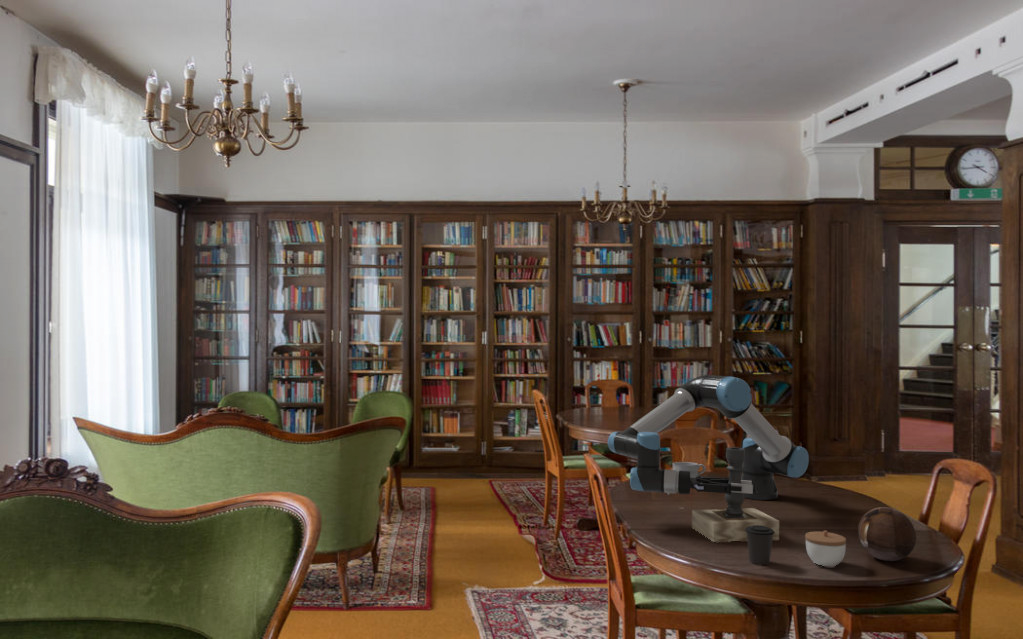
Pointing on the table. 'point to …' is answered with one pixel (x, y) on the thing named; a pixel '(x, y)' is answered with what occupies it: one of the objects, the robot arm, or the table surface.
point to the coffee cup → (759, 543)
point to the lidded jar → (825, 547)
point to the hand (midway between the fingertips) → (752, 487)
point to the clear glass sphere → (886, 534)
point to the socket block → (731, 524)
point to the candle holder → (735, 469)
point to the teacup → (689, 468)
